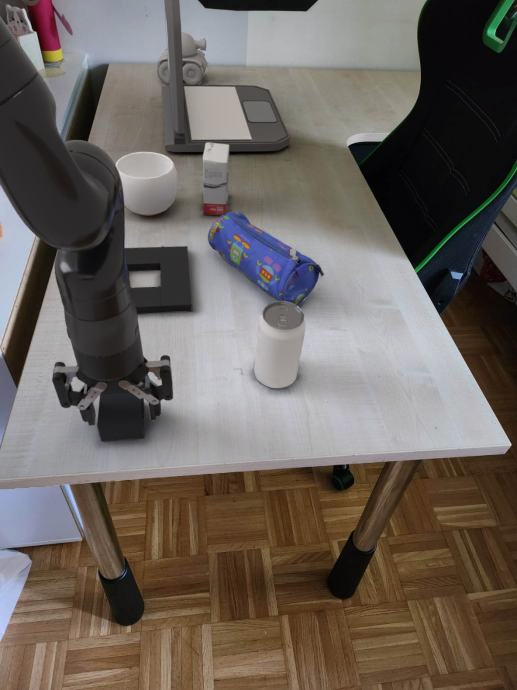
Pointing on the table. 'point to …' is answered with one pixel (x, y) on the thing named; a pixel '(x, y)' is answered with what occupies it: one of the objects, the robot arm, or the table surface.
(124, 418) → the plug pad
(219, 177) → the ink box
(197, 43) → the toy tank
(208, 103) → the gray camera stand
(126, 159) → the cup
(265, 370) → the can
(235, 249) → the pencil case
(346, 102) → the table surface
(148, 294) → the socket pad
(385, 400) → the table surface
